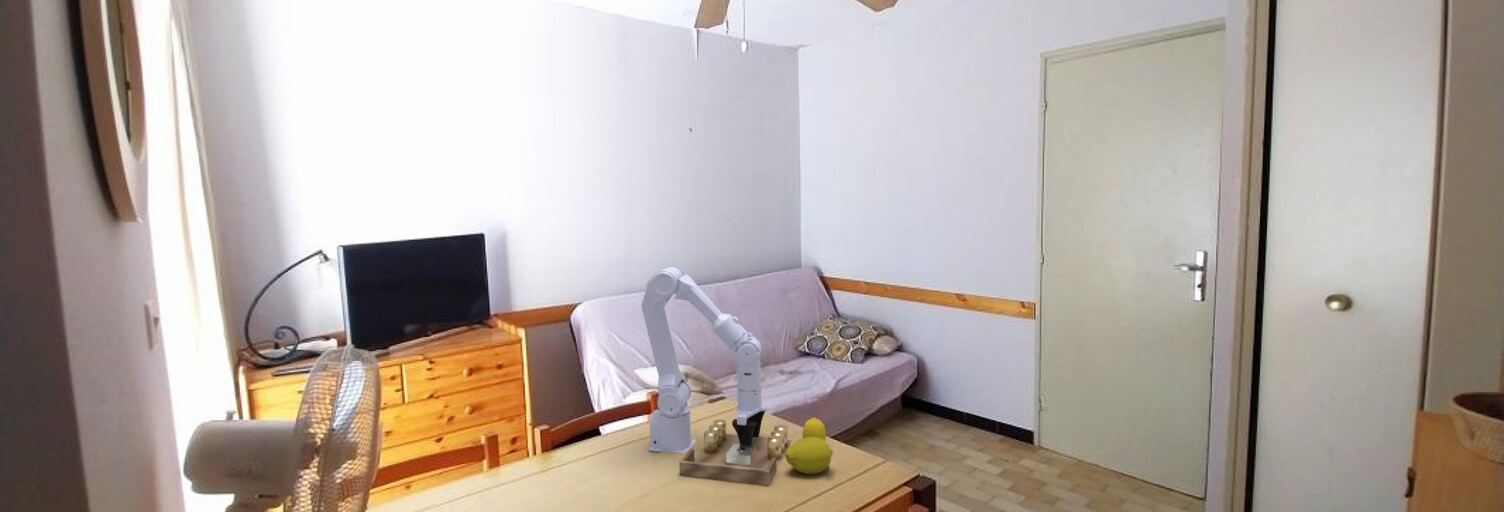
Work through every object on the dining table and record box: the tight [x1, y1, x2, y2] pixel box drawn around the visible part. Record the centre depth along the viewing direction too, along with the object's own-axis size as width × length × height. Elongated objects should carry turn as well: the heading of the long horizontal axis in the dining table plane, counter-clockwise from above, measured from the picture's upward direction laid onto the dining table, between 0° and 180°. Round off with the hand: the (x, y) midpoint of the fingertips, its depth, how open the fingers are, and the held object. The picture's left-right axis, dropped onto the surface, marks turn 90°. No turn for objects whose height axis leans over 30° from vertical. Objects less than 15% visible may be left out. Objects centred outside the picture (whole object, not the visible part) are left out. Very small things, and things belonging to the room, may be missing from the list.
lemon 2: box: [784, 437, 833, 475], centre depth 137 cm, size 11×8×8 cm
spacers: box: [703, 418, 789, 460], centre depth 149 cm, size 19×10×4 cm, turn 75°
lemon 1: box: [802, 417, 827, 442], centre depth 149 cm, size 6×6×8 cm
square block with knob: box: [726, 444, 757, 466], centre depth 143 cm, size 6×6×2 cm
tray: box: [678, 433, 793, 487], centre depth 145 cm, size 20×24×4 cm
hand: (750, 442), depth 150 cm, fingers open, 7 cm apart
